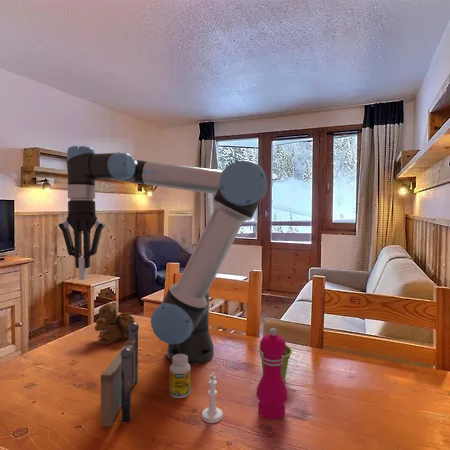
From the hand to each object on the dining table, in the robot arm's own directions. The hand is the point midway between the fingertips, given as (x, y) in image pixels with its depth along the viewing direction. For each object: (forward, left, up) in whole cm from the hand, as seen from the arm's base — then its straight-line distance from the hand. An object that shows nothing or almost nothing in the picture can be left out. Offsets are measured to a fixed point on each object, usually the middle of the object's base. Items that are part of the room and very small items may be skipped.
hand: (83, 278), depth 101 cm
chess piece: (-38, +28, -26) cm, 54 cm away
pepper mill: (-52, +27, -26) cm, 64 cm away
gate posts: (-18, +20, -26) cm, 37 cm away
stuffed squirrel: (-5, -19, -26) cm, 33 cm away
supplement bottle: (-30, +18, -26) cm, 44 cm away
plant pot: (-56, +12, -26) cm, 63 cm away
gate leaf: (-16, +23, -25) cm, 37 cm away
